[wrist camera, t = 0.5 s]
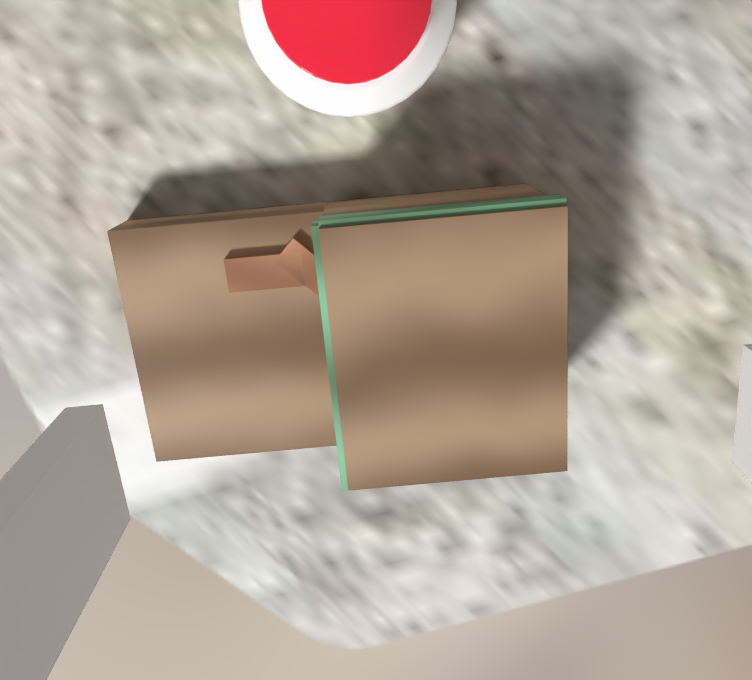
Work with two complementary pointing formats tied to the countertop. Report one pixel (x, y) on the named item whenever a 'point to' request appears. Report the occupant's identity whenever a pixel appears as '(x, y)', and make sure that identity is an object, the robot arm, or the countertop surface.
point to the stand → (358, 332)
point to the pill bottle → (348, 49)
